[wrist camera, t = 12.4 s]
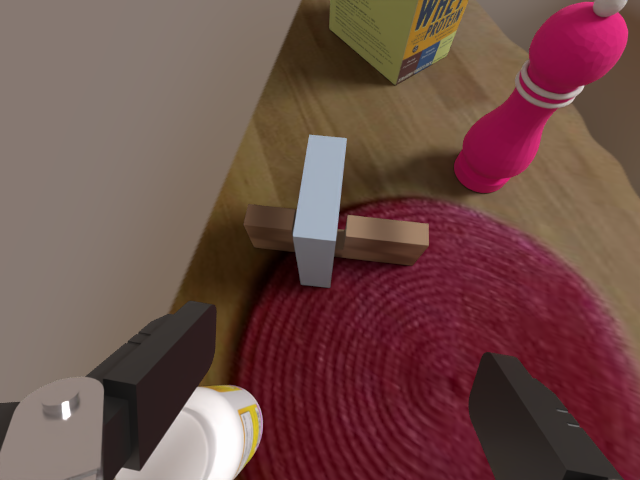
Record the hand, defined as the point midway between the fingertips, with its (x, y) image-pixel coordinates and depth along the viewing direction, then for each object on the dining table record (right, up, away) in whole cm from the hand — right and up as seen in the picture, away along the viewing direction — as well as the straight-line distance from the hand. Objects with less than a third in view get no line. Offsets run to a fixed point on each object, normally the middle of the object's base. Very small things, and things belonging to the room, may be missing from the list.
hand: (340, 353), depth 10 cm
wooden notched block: (+1, +3, +25) cm, 25 cm away
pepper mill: (+19, +12, +30) cm, 37 cm away
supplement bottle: (-9, -13, +19) cm, 24 cm away
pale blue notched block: (-1, +3, +25) cm, 25 cm away
